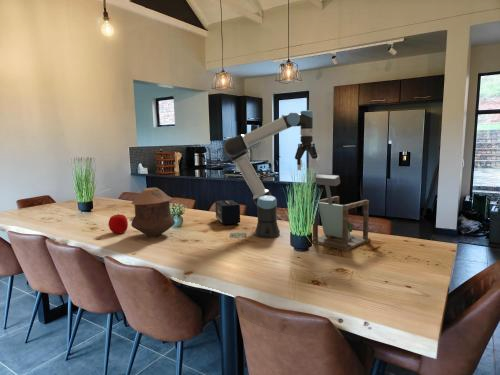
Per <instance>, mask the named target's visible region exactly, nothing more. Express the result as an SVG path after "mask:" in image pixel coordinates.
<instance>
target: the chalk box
mask: <svg viewBox="0 0 500 375" xmlns="http://www.w3.org/2000/svg"><path fill="white" fill-rule="evenodd" d="M353 226H354V225H353V224H352V223H350V221H348V231H349V237H350V234H351V233H352V232H353V228H354V227H353ZM324 235H326V234H324ZM327 236H328V237H330V238H340V237H335V236H331V235H327Z"/></svg>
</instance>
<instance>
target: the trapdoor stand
mask: <svg viewBox="0 0 500 375" xmlns="http://www.w3.org/2000/svg"><path fill="white" fill-rule="evenodd" d="M331 197H332V202H334V203H333V204H338V205H340V196H338V195H336V196H331ZM317 200H319V202H323V203H328V199H327V197H326V198H322V199H317ZM317 200H314V201H315V203H317ZM342 205H343V228H342V238H330V237H328V236H327V235H325V234H323V235H321V236H319V209H318V210H317V213H316V218H315V222H314V224H313V223H312V238H311V239H312V242H315V243H319V244H322V245H321V246H323V245H326V246H325V247H327V246H330V247H329V248H331V247H334V248H333V249H335V248H337V249H336V250H339V249H341V250H340V251H343V250H345V251H344V252H348V251H350V250H352V248H353V249H355V248H357V247H359V245H360V246H362V245H364V244H363V243H365V244H367V243H369V242H371V238H370V237H369V218H370V217H369V213H370V212H369V211H370V208H369V207H370V200H369V199H363V200H359V201H356V202H350V203H347V204H342ZM361 206H363V215H362V216H363V220H362V236H360V235H355V234H351V233H350V239H348V222H349V210H350V209H354V208H359V207H361ZM368 241H369V242H368ZM366 242H367V243H366ZM315 243H314V244H315ZM319 244H318V245H319ZM361 244H362V245H361ZM356 246H357V247H356ZM354 247H355V248H354ZM349 249H350V250H349ZM347 250H348V251H347Z"/></svg>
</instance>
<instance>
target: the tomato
mask: <svg viewBox="0 0 500 375" xmlns="http://www.w3.org/2000/svg"><path fill="white" fill-rule="evenodd" d="M128 222H129V221H128V218H127V216H125V215H124V214H119V213H117V214H114V215H112V216H110V217H109V219H108V228H109V230H110V232H112V233H113V234H116V235H117V234H123V233H125V232H126V231H127V230H128V226H129V224H128Z"/></svg>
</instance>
